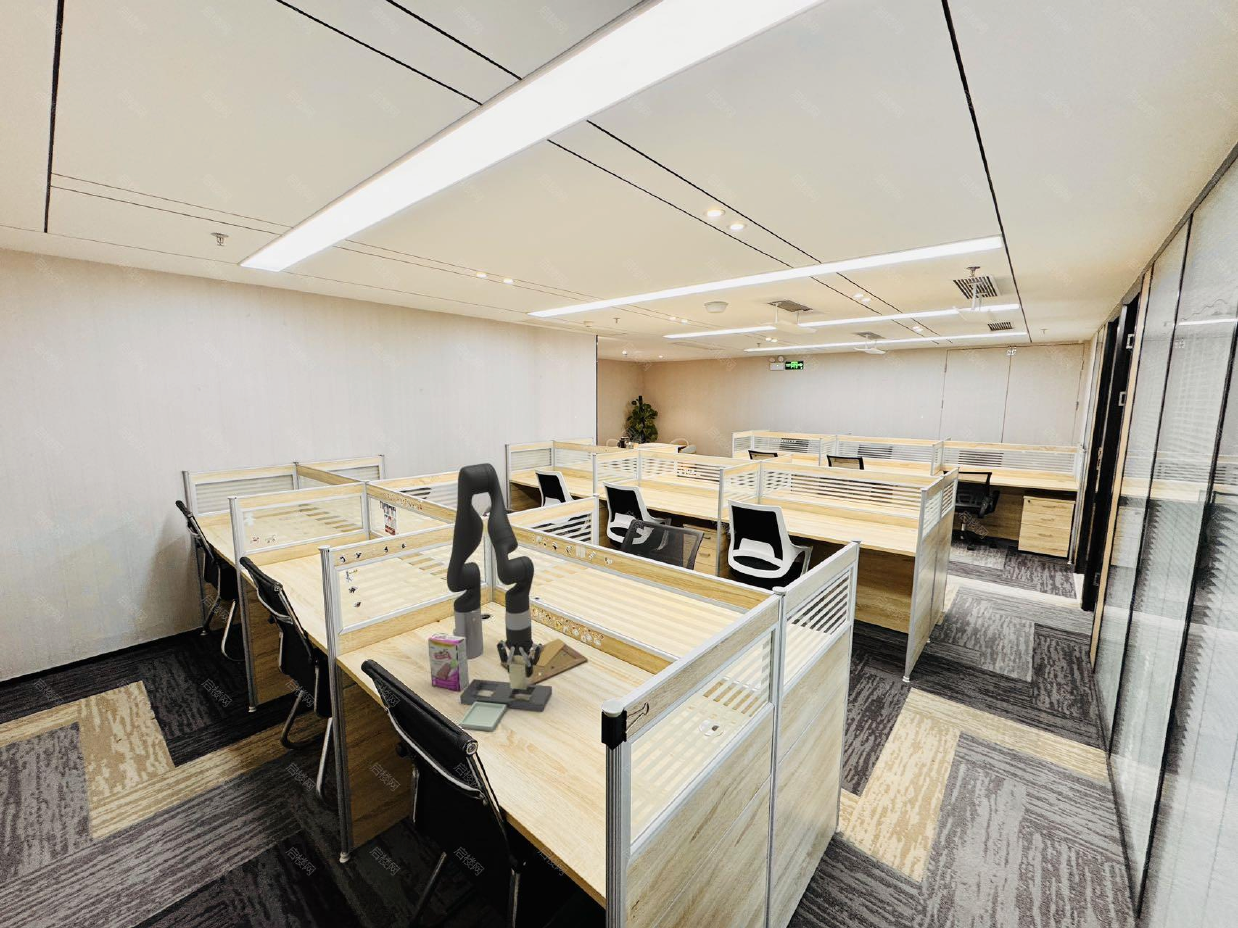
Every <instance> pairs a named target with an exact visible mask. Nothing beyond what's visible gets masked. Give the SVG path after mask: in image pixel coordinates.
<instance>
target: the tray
mask: <svg viewBox="0 0 1238 928" xmlns="http://www.w3.org/2000/svg"><path fill="white" fill-rule="evenodd" d="M507 710H508V708H507V707H506V705H504V704H494V703H484V702H474V704H473V705H471V707H469V709H468V711H466V713H465V714H464V715H463V716H462V718H461V720H460V721H459V722H458V727H459V726H461V727H462V728H463V730H474V731H481V732H491V733H493V731H494V730H495V728H496V727H497V726H498V724H499V722H500V721H501V719H502V718H503V716H504V714H505V713H506V711H507ZM462 728H461V729H462ZM466 728H467V729H466Z"/></svg>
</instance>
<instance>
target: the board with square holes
mask: <svg viewBox="0 0 1238 928" xmlns="http://www.w3.org/2000/svg"><path fill="white" fill-rule="evenodd" d="M481 690H482V691H492V693H491V695H483V694H482V695H481V694H478V693H479V692H480V691H481ZM517 694H522V695H523V694H525V695H530V697H529V698H528V699H523V698H522V699H521V698H514V697H515V696H516V695H517ZM552 695H553V688H552V685H541V684H536V685H532V684H529V686H528V687H527V689H526V690H524V689H515V688H510V681H500V680H499V681H498V680H486V679H477V678H476V679H475V678H474V679H472V680H471V682H469V684H468V685H467V686H466V687H465V688H464V691H463V692H461V694H460V695H459V698H460V699H459V700H460V701H459V702H460V704H461V705H462V704H463V705H471V706H472V705H473V704H474V702H484V703H494V704H504V705H506V707H507V709H511V710H521V711H528V712H529V711H530V712H540V713H541V712H544V710H545V708H546V706H547V704H548V702H549V701H550V699H551V697H552Z"/></svg>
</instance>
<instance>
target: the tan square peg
mask: <svg viewBox="0 0 1238 928" xmlns="http://www.w3.org/2000/svg"><path fill="white" fill-rule="evenodd" d="M531 681H532V675H531V676H530V678H528V677H527V663H526V661H525V660H524V659H523V656H519V655H517V656H514V658H513V659H512V661H510V663H509V682H510V688H515V689H524V690H526V689H527V687H528V686H529V684H530V682H531Z"/></svg>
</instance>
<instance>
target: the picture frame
mask: <svg viewBox="0 0 1238 928" xmlns="http://www.w3.org/2000/svg"><path fill="white" fill-rule="evenodd" d="M530 650H531V653H532V658H533V659H534V655H535V652H534V650H533V648H531V649H530ZM588 661H589V659H588V658H587V657H585V656H584V655H583V654H581V653H579V652H578V651H577V650H575V649H574V648H572V647H571V646H569V645H568V644H566V642H564V641H563V640H561V639H560V638H556V639H554V640H552V641H549V642H547V643H545V644H542V649H541V654H540V659H539V661H538V663H537V664H536V665H533V674H532V681H531V682H530V684H532V685H539V684H540V683H543V682H545V681H547V680H549V679H551V678H552V679H553V678H554V677H556V676H558V675H562V674H563V673H566V672H567V671H570V670H572V669H574V668H576V667H579V666H582V665H584V664H585V663H588ZM500 666H502V667H503V668H505V670H507V671H508V666H507V663H506V662H501V661H500Z"/></svg>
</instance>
